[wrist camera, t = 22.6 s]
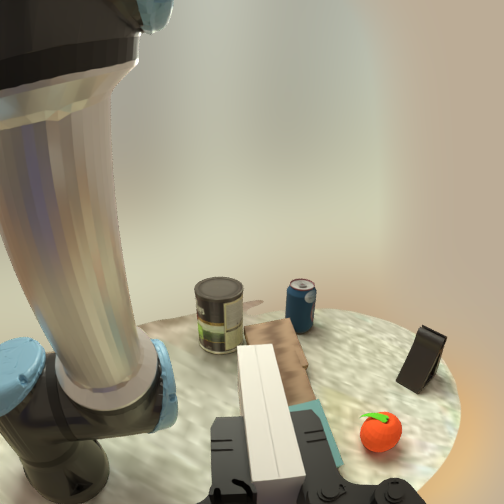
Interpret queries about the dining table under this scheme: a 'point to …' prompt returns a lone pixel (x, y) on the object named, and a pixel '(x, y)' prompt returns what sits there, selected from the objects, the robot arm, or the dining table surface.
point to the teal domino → (318, 410)
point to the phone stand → (422, 359)
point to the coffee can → (219, 314)
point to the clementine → (380, 431)
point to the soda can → (301, 304)
